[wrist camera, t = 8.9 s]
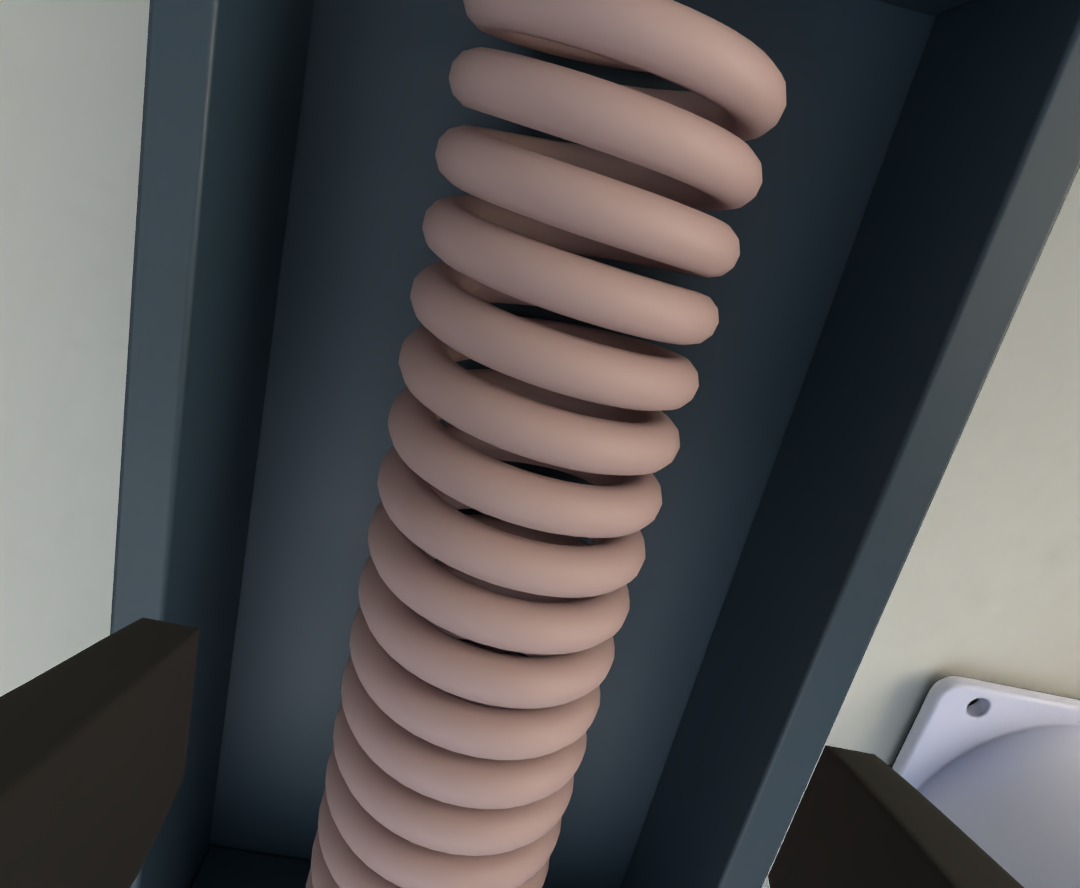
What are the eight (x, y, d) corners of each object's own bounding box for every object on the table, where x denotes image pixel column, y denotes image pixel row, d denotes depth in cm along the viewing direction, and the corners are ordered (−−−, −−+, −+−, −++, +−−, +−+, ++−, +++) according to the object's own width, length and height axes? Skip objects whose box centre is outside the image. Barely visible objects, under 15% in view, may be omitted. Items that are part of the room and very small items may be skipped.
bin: (980, -16, 13) (1204, -110, 9) (632, 916, 20) (662, 1116, 16) (298, -217, 12) (174, -440, 8) (181, 845, 19) (82, 1041, 15)
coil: (532, 1052, 14) (887, -5, 9) (276, 1049, 13) (484, -136, 8) (509, 844, 19) (736, 49, 13) (315, 831, 18) (468, -31, 12)
